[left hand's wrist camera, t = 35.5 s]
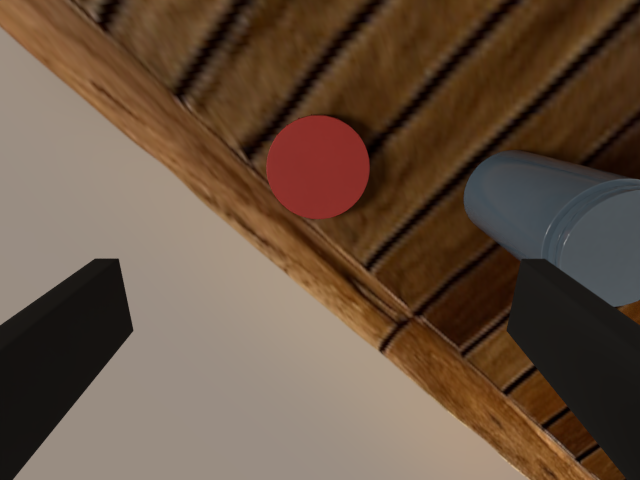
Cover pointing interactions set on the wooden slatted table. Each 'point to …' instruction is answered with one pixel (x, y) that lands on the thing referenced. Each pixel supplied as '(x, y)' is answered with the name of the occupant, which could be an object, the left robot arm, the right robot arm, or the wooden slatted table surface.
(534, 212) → the jar
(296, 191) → the lid
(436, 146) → the wooden slatted table surface
